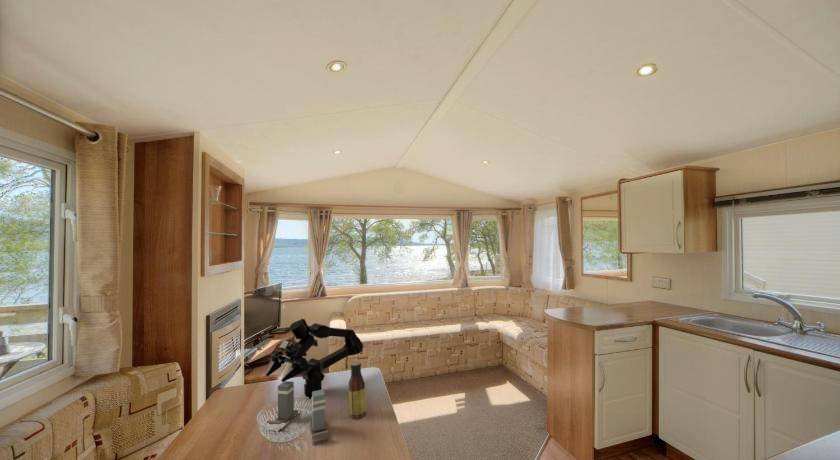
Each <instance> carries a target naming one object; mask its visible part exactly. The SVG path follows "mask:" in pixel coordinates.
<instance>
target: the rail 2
mask: <svg viewBox="0 0 840 460" xmlns="http://www.w3.org/2000/svg"><path fill="white" fill-rule="evenodd" d="M310 431H311V442H312V446H315V445H319V444H323V443H326V442H329V430H328V429H327V424H326V422H325V429H322V430H318V431H314V432H313V426H312V421H311V422H310Z"/></svg>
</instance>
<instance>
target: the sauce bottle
mask: <svg viewBox="0 0 840 460" xmlns="http://www.w3.org/2000/svg"><path fill="white" fill-rule="evenodd" d="M361 367H362V362H361V361H353V362H351V363H350V375H351V376H350V378H349V379H348V403H349V405H348V406H349V408H348V409H349V416H350V418H352V419H353V420H358V419H362V418H363V417H365V415H367V414H366V413H367V403H366V402H367V401H366V400H367V399H366V384H365V381H364V378H363V374H362V369H361Z"/></svg>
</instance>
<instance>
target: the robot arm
mask: <svg viewBox="0 0 840 460" xmlns="http://www.w3.org/2000/svg"><path fill="white" fill-rule="evenodd" d="M289 330H290V332H291V333H292V335H293V336H294V338H295V339H296V340H298V341H293V342H291V341H287V340H282V342H281V343H280V345H279V347H278V348H279V349H280V350H279V349H273V350H272V351H271V352H270V357H271V362H270V365H269V367H268V369H267V370H266V373H265V376H266V377H268V376H270V375H272V374H273V373H275V372H276V371H277V370H279V369H280V368H281V367H282V365H284V364H285V363H289V364H291V367H290V368H289V369H288V370H287V371H286V373H285V374H284V375H283V377H282V379H281V380H280V382H281V383H283V382H284V381H288V380H290V379H292V378H293V377H296V376H299V375H300V376H301V377H302V379H303V380H305V382H304V385H303V394H304V396H305V397H306V398H307V397H309V399H312V392H313V391H318V390H322V381H324V379H325V377H326V376H325V374H323V372H324V370H326V369H328V368H330V367H331V366H333V365H334V364H336V363H338V362H340V361H342V360H344V359H345V358H347V357H350V356H356V355H359V354H360V353H362V351H363V349H364V345H363V342H362V340H361V339H360V338H359V336H357V334H356V333H355V331H354V329H349V328H338V327H331V326H327V325H324V324H320V323H316V322H315V323H313V324H311V325H308V323H307V320H306V319H305V318H300V319H299V320H297V321H295V322H293V323H292V322H291V324H290V326H289ZM329 337H336V338H344V345H343V346H342V348H339V349H337V350H335V351H334V352H331V353H330V354H328V355H326V356H324V357H322V358H320V359H316V358H314V357H313V358H310V359H309V360H308V359H307V358H306V357H307V356H308V354H307V352H309V350H310V349H311V348H312V347H318V346H319V345H318V344H319V343H318V342H319V341H318V339H325V338H326V339H327V338H329ZM315 338H318V339H315ZM281 350H283V351H284V352H283V351H281Z"/></svg>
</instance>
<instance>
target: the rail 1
mask: <svg viewBox="0 0 840 460" xmlns="http://www.w3.org/2000/svg"><path fill="white" fill-rule="evenodd" d="M298 411H299V412H300V410H298V409H297V410H296V409H294V414H293V415H292V416H290V417H289V418H288V419H280V418H278V417H277V418H276V419H275V420H270V419H268V420H267V421H266V424H267V423H269V424H281V423H287V422H288V421H290V420H291V421H293V419H294V418H295V417H296V416H297V415H298V414H299V413H298ZM297 413H298V414H297ZM296 414H297V415H296ZM295 415H296V416H295ZM294 416H295V417H294ZM293 417H294V418H293ZM292 418H293V419H292ZM291 421H290V422H291Z"/></svg>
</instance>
